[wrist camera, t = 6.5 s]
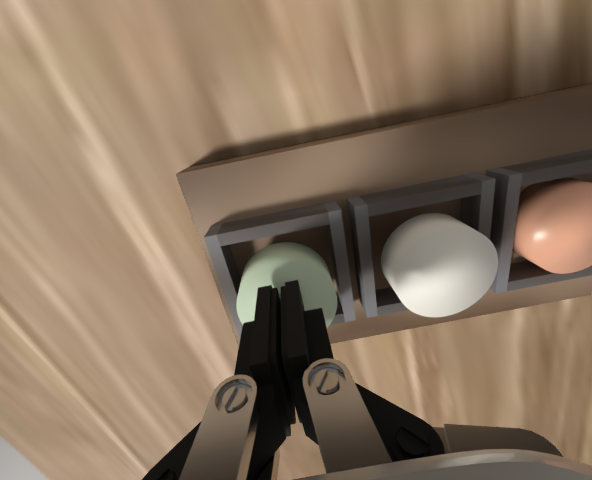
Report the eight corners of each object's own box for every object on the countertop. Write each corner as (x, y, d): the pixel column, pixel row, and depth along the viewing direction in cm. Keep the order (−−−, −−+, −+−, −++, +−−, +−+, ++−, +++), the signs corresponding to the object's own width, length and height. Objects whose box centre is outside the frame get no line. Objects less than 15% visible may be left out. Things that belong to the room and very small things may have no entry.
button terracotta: (577, 247, 16) (616, 264, 14) (498, 262, 16) (527, 281, 14) (595, 168, 14) (643, 176, 12) (507, 186, 14) (541, 197, 12)
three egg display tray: (561, 277, 19) (616, 309, 16) (246, 337, 20) (240, 380, 17) (605, 80, 14) (697, 70, 11) (188, 167, 15) (163, 180, 12)
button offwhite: (466, 283, 15) (493, 307, 13) (383, 299, 15) (398, 325, 13) (472, 204, 13) (503, 218, 11) (377, 223, 13) (393, 240, 11)
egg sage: (335, 309, 15) (343, 335, 13) (254, 324, 15) (251, 353, 13) (322, 234, 13) (329, 252, 11) (231, 252, 13) (223, 273, 12)
